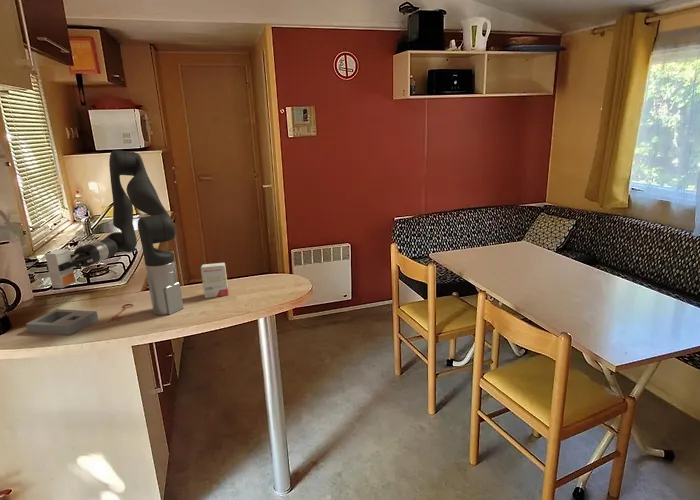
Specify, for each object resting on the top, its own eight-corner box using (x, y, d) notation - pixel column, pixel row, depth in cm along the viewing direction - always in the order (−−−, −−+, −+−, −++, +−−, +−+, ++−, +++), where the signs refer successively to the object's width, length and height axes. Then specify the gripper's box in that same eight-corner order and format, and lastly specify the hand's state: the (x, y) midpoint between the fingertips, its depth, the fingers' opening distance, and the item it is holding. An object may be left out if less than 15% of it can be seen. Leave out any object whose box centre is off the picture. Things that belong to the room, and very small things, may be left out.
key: (120, 323, 153) (140, 306, 168) (120, 321, 153) (140, 303, 167) (102, 323, 153) (124, 305, 168) (102, 320, 153) (124, 303, 167)
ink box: (228, 291, 177) (225, 261, 174) (228, 295, 172) (224, 265, 169) (205, 293, 175) (201, 263, 172) (204, 298, 171) (200, 267, 167)
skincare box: (62, 288, 155) (55, 254, 152) (52, 288, 156) (44, 254, 153) (76, 282, 161) (69, 249, 157) (66, 282, 162) (58, 249, 158)
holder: (98, 319, 155) (96, 311, 155) (70, 335, 144) (68, 326, 143) (58, 317, 159) (56, 309, 158) (28, 332, 148) (25, 323, 147)
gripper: (73, 243, 170) (33, 257, 154) (106, 244, 167) (69, 257, 151) (77, 263, 172) (38, 278, 156) (110, 263, 169) (73, 279, 153)
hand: (53, 268), depth 154 cm, fingers closed on skincare box, 4 cm apart
